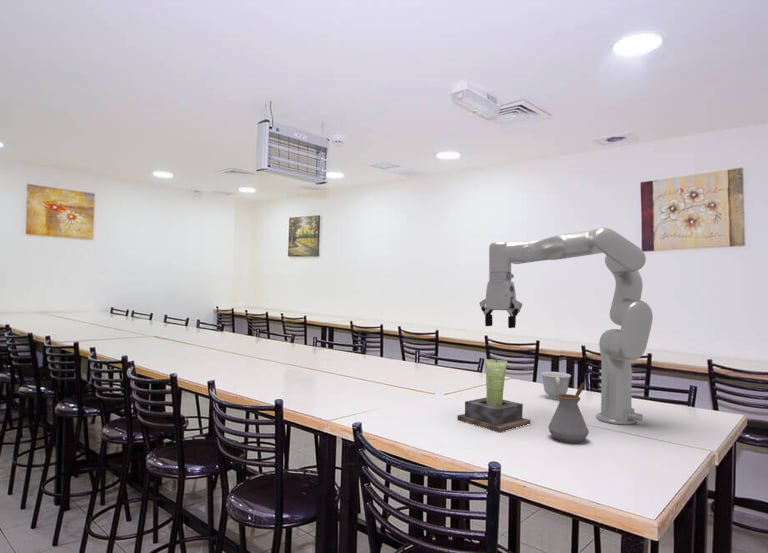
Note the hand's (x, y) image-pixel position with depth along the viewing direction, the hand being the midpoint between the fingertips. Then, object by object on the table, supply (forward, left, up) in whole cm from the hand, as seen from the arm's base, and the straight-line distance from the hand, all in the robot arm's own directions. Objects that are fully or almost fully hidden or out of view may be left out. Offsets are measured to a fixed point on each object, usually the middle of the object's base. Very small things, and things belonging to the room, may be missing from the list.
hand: (500, 326), depth 169 cm
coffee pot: (-25, -4, -32) cm, 41 cm away
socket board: (-1, +5, -32) cm, 32 cm away
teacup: (+7, -45, -32) cm, 56 cm away
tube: (-2, +4, -31) cm, 31 cm away
